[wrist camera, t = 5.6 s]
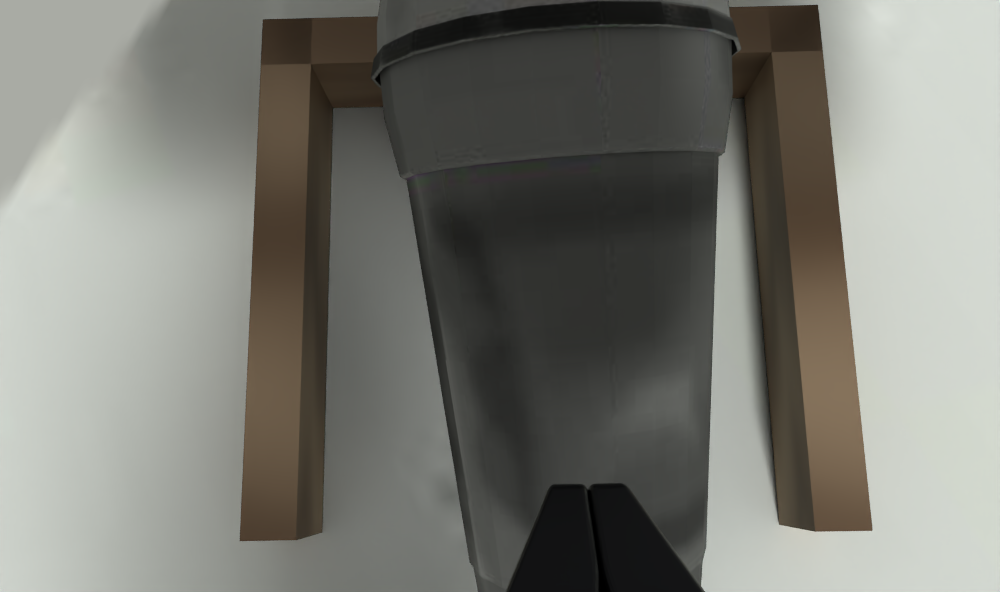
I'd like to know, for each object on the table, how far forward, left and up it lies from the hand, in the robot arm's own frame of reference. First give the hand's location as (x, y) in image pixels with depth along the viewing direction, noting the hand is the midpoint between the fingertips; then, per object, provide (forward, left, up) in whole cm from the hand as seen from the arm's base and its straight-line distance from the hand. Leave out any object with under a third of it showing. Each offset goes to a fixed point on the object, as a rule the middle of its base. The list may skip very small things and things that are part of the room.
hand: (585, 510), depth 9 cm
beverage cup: (-3, +1, -9) cm, 10 cm away
